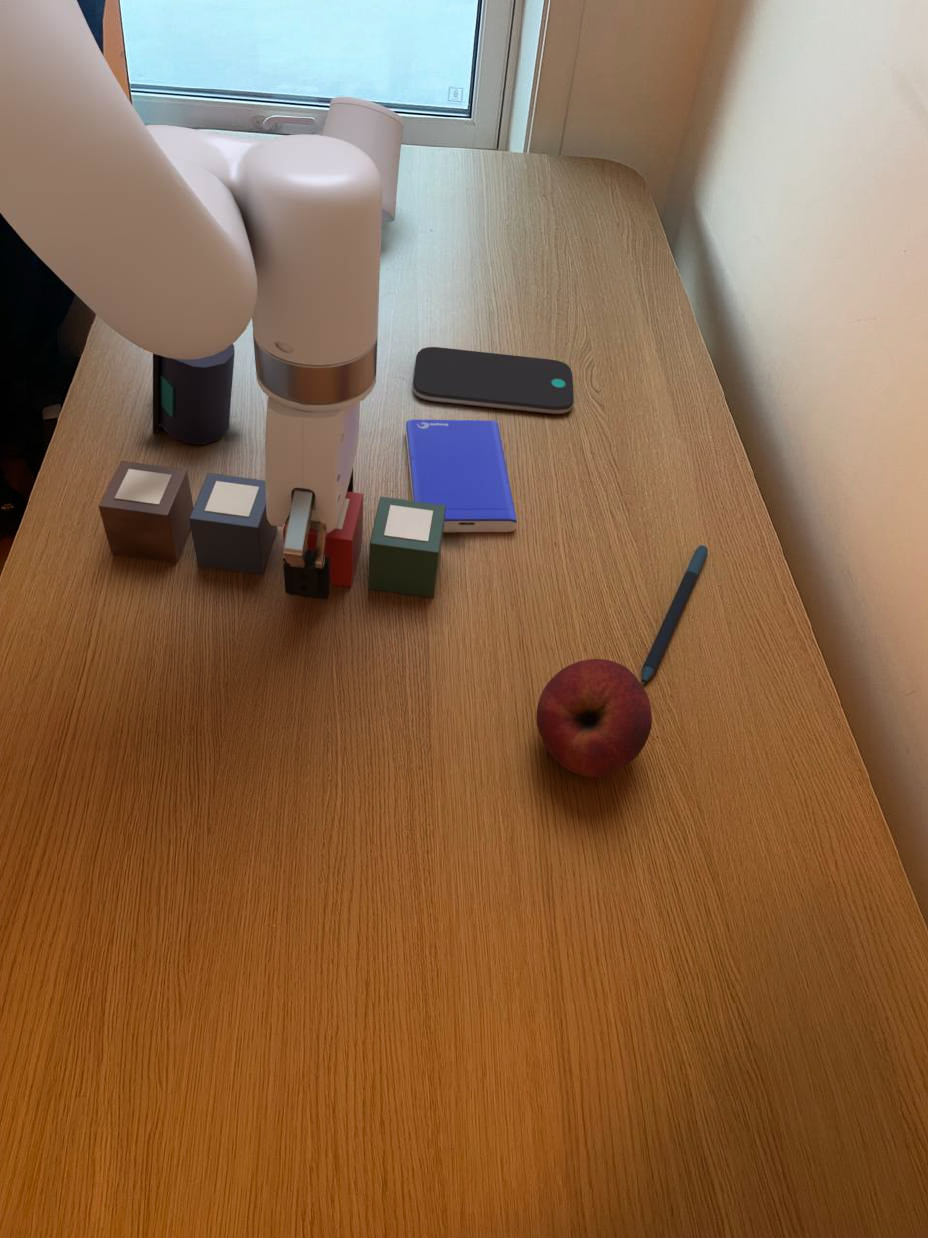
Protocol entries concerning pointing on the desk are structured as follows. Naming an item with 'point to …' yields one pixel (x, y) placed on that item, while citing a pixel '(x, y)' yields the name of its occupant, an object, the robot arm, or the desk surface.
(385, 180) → the light fixture
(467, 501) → the hard drive
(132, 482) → the walnut block
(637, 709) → the apple
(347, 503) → the red block
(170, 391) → the speaker
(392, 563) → the green block
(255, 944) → the desk surface
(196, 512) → the slate block
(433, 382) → the smartphone
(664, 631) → the pen
